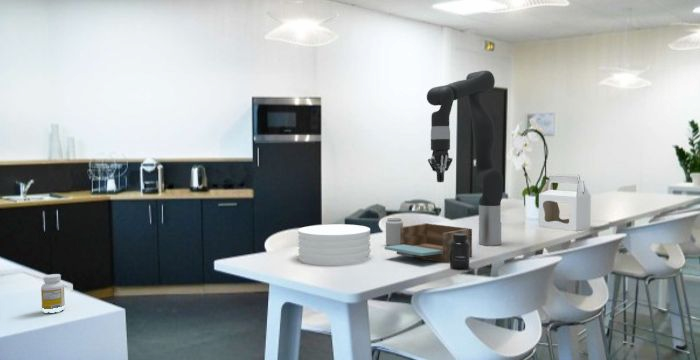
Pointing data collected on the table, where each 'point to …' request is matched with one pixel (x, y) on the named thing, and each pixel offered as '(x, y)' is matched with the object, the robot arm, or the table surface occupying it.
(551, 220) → the gable box
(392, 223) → the can
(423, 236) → the crate
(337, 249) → the plate stack
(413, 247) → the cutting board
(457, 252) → the supplement bottle
